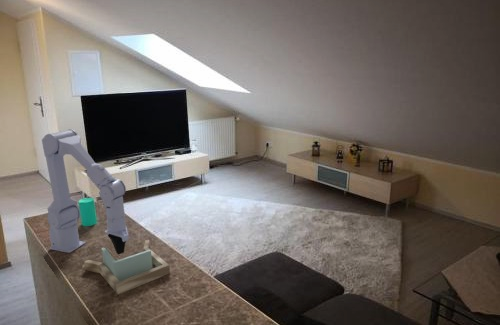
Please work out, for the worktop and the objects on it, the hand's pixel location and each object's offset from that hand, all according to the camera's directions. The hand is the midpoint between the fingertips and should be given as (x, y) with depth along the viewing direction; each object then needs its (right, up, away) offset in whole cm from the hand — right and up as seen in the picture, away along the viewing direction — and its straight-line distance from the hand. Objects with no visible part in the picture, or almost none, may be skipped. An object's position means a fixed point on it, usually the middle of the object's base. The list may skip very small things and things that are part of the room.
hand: (120, 252), depth 129 cm
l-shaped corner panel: (+4, -5, -5) cm, 8 cm away
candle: (-24, +5, +31) cm, 39 cm away
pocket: (+5, -4, -5) cm, 9 cm away
